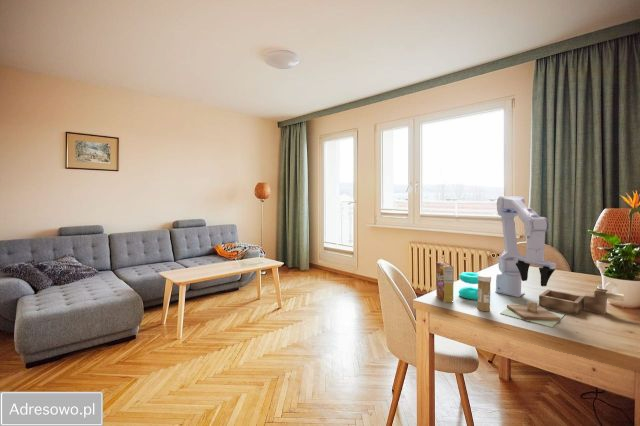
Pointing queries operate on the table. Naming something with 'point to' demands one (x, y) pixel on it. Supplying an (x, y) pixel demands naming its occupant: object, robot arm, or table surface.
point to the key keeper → (596, 301)
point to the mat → (542, 322)
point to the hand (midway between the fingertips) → (533, 283)
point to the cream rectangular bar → (613, 296)
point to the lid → (533, 312)
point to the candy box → (445, 281)
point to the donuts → (469, 291)
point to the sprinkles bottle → (484, 292)
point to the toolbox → (561, 301)
